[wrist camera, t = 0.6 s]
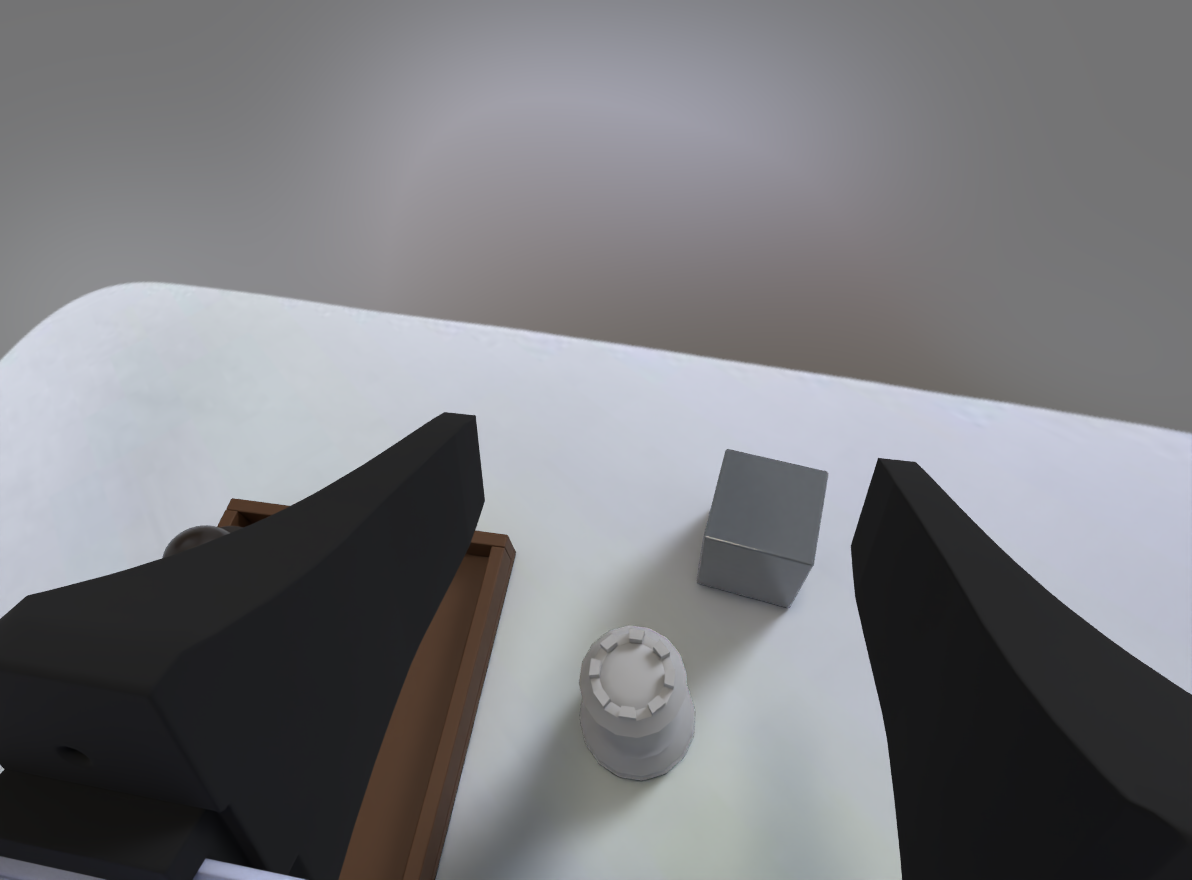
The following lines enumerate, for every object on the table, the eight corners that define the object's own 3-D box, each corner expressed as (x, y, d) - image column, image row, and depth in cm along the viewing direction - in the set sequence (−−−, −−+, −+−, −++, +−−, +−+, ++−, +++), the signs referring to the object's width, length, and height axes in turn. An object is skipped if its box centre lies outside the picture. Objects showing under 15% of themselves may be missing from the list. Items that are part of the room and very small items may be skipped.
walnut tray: (394, 1047, 22) (371, 1063, 20) (44, 955, 24) (-3, 963, 22) (516, 552, 30) (508, 534, 29) (253, 515, 32) (231, 497, 31)
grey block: (789, 609, 28) (813, 566, 24) (696, 583, 29) (703, 537, 25) (804, 525, 30) (829, 471, 26) (716, 503, 31) (726, 447, 27)
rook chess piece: (563, 690, 27) (532, 637, 20) (660, 640, 28) (663, 573, 21) (611, 804, 25) (596, 787, 18) (717, 746, 25) (739, 709, 19)
